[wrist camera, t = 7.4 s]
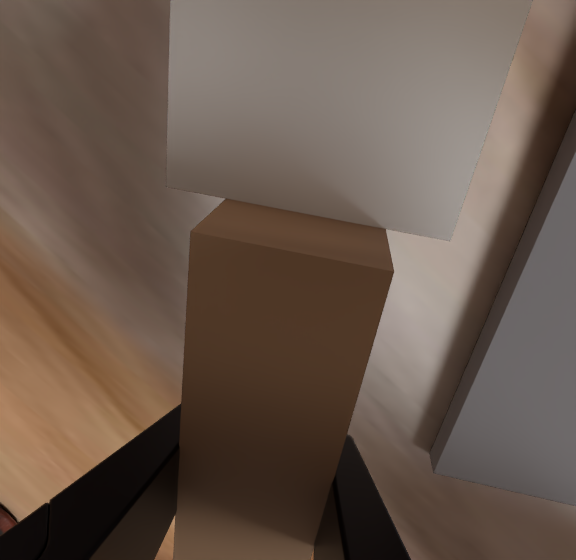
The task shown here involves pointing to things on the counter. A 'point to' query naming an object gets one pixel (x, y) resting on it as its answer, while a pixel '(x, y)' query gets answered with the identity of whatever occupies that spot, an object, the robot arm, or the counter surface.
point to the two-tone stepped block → (307, 229)
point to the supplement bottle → (5, 521)
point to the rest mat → (525, 361)
